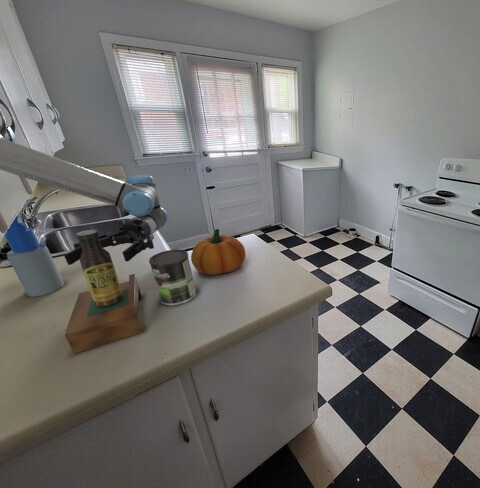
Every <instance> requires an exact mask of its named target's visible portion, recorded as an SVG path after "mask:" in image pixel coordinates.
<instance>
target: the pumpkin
mask: <svg viewBox="0 0 480 488" xmlns="http://www.w3.org/2000/svg"><path fill="white" fill-rule="evenodd" d="M246 256H247V253H246V249H245V246H244V244H243V243H242V242H241V241H240V240H238V238H236V237H234V236H231V235H224V234H220V229H219V228H215V229H214V231H213V235H211V236H207V237H205V238H204V239H202V240H200V241H199V242H197V243H196V244H195V245H194V246H193V248H192V251H191V255H190V261H191V263H192V265H193V267H194V268H195V270H196V271H197V272H199V273H201V274H205V275H210V276H211V275H212V276H213V275H214V276H216V275H222V274H227V273H230V272H234V271H235V270H236V269H238V268H239V267H240V266H242V265H243V264H244V262H245V260H246Z"/></svg>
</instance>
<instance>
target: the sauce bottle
mask: <svg viewBox="0 0 480 488" xmlns="http://www.w3.org/2000/svg"><path fill="white" fill-rule="evenodd" d="M99 235H100V234H99V231H98V230H96V229H86V230H82V231H79V232H76V235H75V236H76V239H77V240H78V242H80V244H81V247H82V250H83V251H82V254H81V257H80V259H79V263H80V265H81V268H82V273H83V277H84V279H85V281H86V284H87V288H88V291H90V293H91V296H92V299H93V301H94V302H95V305H96V306H99V307H100V306H101V307H103V306H109V305H112V304H114V303H116V302H118V301H120V300H121V298H122V291H121V288H120V284H119V283H120V281H119V278H118V274H117V271H116V267H115V265H114V263H113V259H112V257H111V254H110V252H109V251H108V250H106V249H105V247H104V248H102V245H101V243H100V240H99Z"/></svg>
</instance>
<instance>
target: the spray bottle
mask: <svg viewBox="0 0 480 488" xmlns="http://www.w3.org/2000/svg"><path fill="white" fill-rule="evenodd" d="M15 216H16V218H15V220H14V221H13V223H12V224H11V226H10V228H9V229H8V230H7V232H6V231H5V232H6V233H5V232H4V233H5V235H4V234H3V236H4V237H5V240H6V242H7V244H8V245H9V247H10V249H11V250H9V251H8V252H7V253H6V257H7V260H8V261H9V263H10V265H11V267H12V268H13V270H14V272H15V274H16V276H17V279H18V280H19V282H20V284H21V285H22V288H23V289H24V291H25V293H26V294H27V296H28V297H41V296H45V295H48V294H52V293H54V292H57V291H58V290H60V289H62V288H63V286H64V285H65V283H64V280H63V279H62V277H61V274H60V272H59V269H58V268H57V266H56V263H55V261H54V259H53V257H52V254H51V252H50V250H49V248H48V247H47V246H46V245H45V244H43V243H39V241H38V239H37V237H36V235H35V232H34V230H33V228H31V227H27V224H26V223H25V222H24V221H23V219H22V217H21V216H20V215H15Z"/></svg>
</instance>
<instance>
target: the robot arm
mask: <svg viewBox="0 0 480 488" xmlns="http://www.w3.org/2000/svg"><path fill="white" fill-rule="evenodd" d="M0 171H3V172H5V173H8V174H12V175H14V176H15V175H16V176H17V177H18V176H19V177H21V178H25V179H27V180H31V181H35V182H37V183H41V184H43V185H47V186H50V187H54V188H57V189H60V190H63V191H66V192H69V193H72V194H76V195H79V196H82V197H85V198H88V199H92V200H95V201H98V202H101V203H104V204H108V205H111V206H114V207H118V208H121V209H123V210H124V211H125V212H126V213H128V214H129V215H130V216H133V217H132V218H130V219H129V220H127V221H125V222H124V223H123V224H121V225H120V226H119V230H117V231H116V232H113V233H110V232H109V231H107V232H104V233H101V234H99V240H100V243H101V245H102V248H104V249H105V248H107V247H116V246H119V245H124V244H131V245H129V247H127V248H125V250H123V251H122V255H123V256H122V257H123V258H124V261H125V262H130V261H131V260H132V259H133V258H134V257H136V256H137V255H138V254H140V253H141V252H142V251H146V250H147V249H149V250H152V249H154V248H155V245H154V239H155V235H154V233H156V232H157V231H159V230H160V229H162V228H163V227H164V226H165V224H166V223H167V222H168V219H169V214H168V213H167V211H166V210H165V209H164V208H162V206H161V204H160V200H159V196H158V195H159V194H158V191H157V188H156V183H155V180H154V178H153V176H151V175H149V174H137V175H133V176H129V177H128V178H127V183H126V182H125V181H122V180H119V179H116V178H113V177H111V176H108V175H105V174H103V173H100V172H98V171H94V170H91V169H89V168H86V167H83V166H80V165H78V164H75V163H72V162H69V161H67V160H63V159H61V158H58V157H55V156H53V155H51V154H47V153H44V152H42V151H39V150H37V149H34V148H31V147H28V146H25V145H23V144H19V143H17V142H16V136H15V132H14V131H13V129H12V127H10V125H9V127H8V128H7V130H6V134H5V137H4V138H3V136H2V135H1V134H0ZM114 241H115V242H114ZM72 246H73V247H74V249H73V250H71V251H69V252H67V253H66V254H64V255H63V257H64V259H65V262H66V263H67V266H71V265H74V264H75V263H76V262H78V261H80V257H81V254H82V251H83V250H82V247H81V244H80V241H78V242H75V243H73V244H72Z"/></svg>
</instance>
